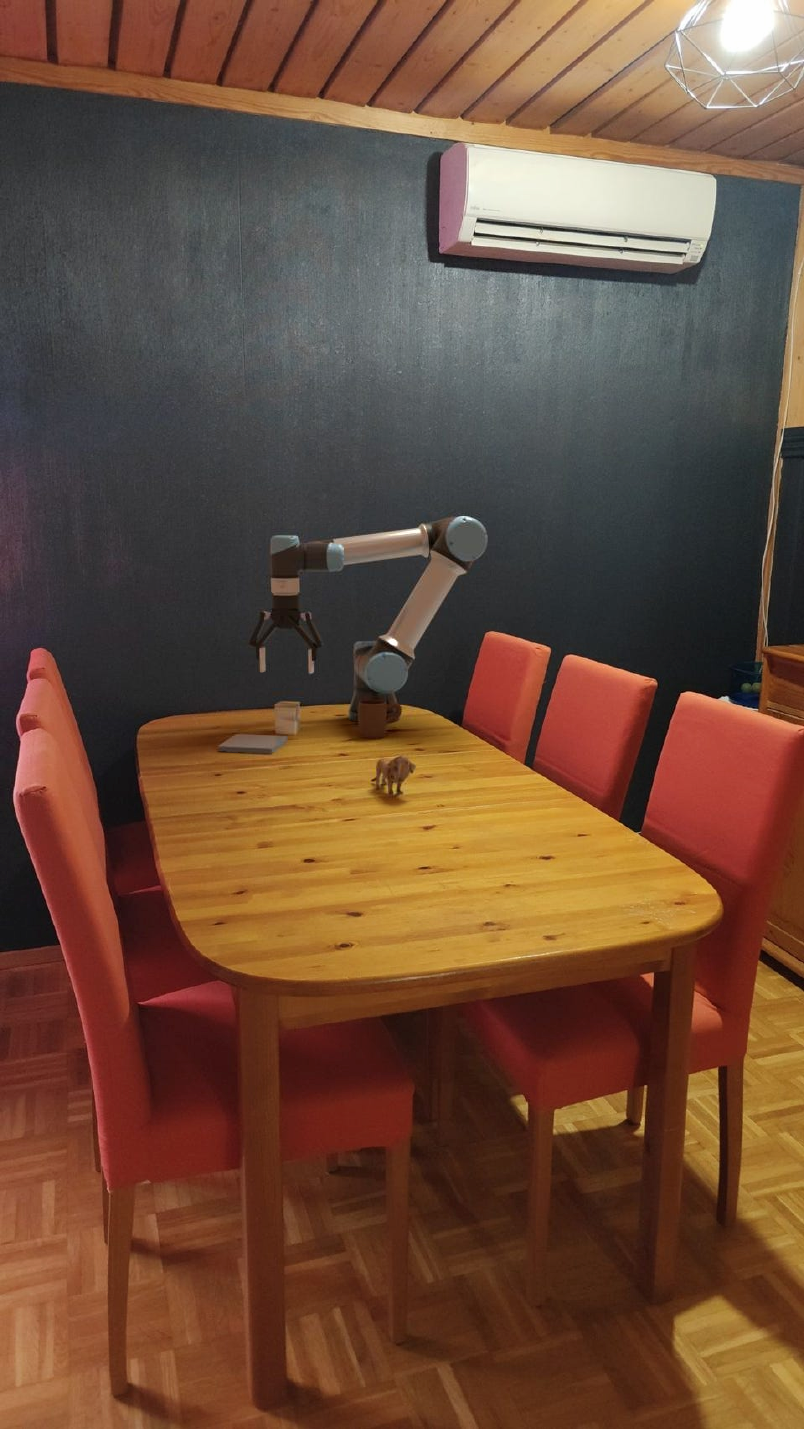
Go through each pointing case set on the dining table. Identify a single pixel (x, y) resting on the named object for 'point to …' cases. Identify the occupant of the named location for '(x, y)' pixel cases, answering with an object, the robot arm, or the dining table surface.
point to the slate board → (253, 743)
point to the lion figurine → (393, 772)
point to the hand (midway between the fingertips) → (287, 672)
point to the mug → (375, 718)
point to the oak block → (287, 717)
